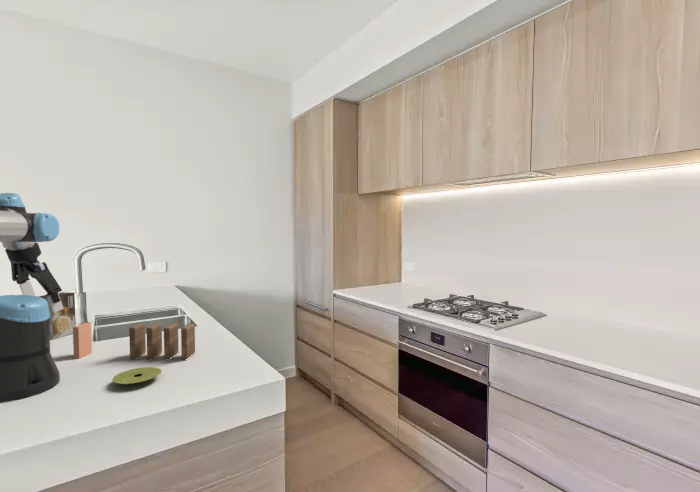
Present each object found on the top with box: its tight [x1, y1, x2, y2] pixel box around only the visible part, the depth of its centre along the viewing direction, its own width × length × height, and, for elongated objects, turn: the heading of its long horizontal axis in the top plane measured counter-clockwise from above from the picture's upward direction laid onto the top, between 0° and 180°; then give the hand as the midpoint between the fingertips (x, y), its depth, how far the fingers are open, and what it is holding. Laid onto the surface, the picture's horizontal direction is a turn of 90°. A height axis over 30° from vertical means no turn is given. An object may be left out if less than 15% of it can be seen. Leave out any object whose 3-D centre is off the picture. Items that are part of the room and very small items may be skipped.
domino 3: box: [146, 323, 163, 360], centre depth 115 cm, size 2×5×10 cm, turn 178°
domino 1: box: [72, 322, 93, 360], centre depth 115 cm, size 2×5×10 cm, turn 177°
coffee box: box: [38, 291, 77, 340], centre depth 137 cm, size 9×6×16 cm
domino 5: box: [180, 323, 196, 360], centre depth 114 cm, size 2×5×10 cm, turn 177°
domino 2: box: [128, 322, 147, 360], centre depth 115 cm, size 2×5×10 cm, turn 177°
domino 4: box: [163, 323, 180, 359], centre depth 115 cm, size 2×5×10 cm, turn 178°
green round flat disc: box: [112, 366, 162, 385], centre depth 96 cm, size 11×11×2 cm
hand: (44, 305), depth 116 cm, fingers open, 13 cm apart
